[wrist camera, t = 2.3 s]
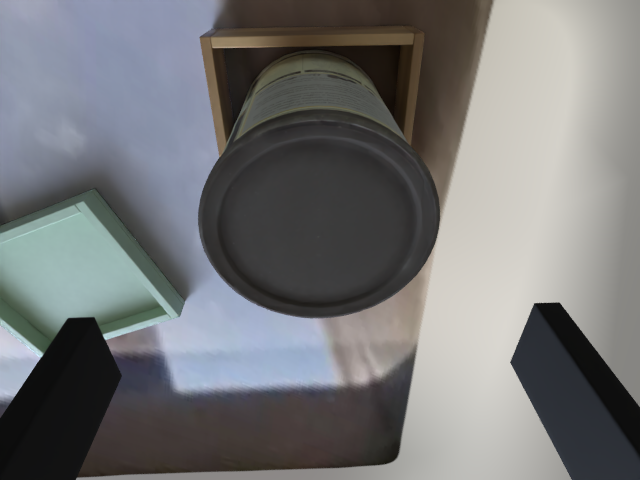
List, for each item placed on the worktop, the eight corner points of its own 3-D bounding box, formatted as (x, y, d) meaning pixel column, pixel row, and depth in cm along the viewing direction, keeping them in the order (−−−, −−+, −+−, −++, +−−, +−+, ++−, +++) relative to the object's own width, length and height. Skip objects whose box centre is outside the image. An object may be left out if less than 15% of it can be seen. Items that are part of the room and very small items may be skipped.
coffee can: (397, 167, 31) (453, 291, 19) (272, 204, 32) (254, 339, 21) (367, 24, 25) (421, 75, 13) (217, 76, 26) (148, 163, 15)
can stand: (411, 25, 25) (425, 33, 22) (392, 200, 32) (401, 223, 29) (211, 28, 25) (199, 36, 22) (237, 203, 32) (230, 227, 29)
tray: (95, 188, 31) (83, 200, 29) (185, 301, 38) (179, 317, 36) (-58, 248, 34) (-77, 263, 32) (52, 343, 41) (42, 359, 39)
